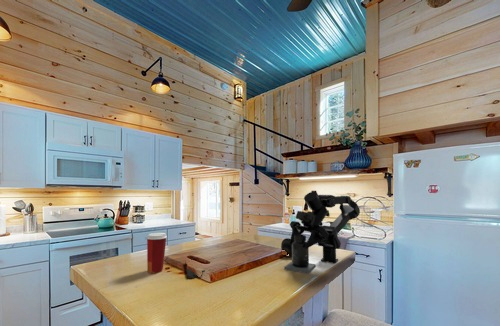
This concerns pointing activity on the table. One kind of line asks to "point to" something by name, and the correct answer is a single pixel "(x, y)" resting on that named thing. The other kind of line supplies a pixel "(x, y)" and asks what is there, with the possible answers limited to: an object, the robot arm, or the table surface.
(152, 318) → the table surface
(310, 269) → the mat
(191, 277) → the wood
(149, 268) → the paper cup
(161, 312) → the table surface
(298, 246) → the supplement bottle
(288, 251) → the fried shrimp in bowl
